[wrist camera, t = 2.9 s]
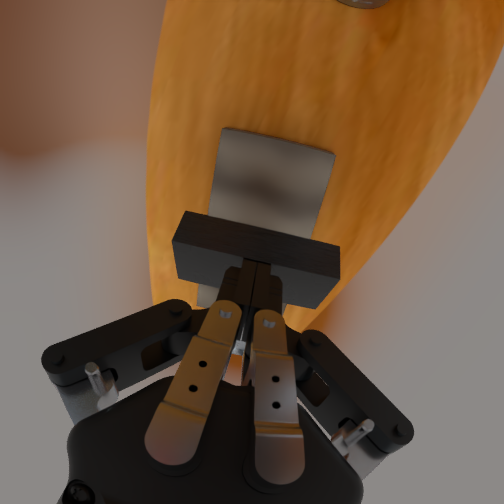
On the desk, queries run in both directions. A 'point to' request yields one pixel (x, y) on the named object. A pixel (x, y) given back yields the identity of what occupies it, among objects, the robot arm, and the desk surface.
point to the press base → (267, 186)
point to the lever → (255, 258)
